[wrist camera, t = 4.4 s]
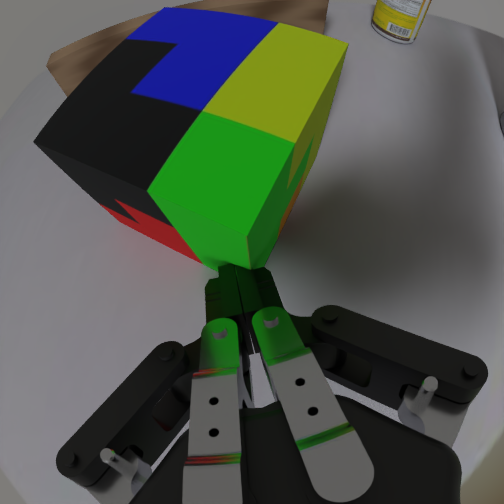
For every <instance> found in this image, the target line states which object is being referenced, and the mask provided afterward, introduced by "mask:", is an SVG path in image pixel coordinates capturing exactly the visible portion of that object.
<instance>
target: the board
mask: <svg viewBox="0 0 504 504" xmlns="http://www.w3.org/2000/svg"><path fill="white" fill-rule="evenodd" d="M328 2H329V0H203V1H198V2H193V3H189V4H184V5H180V6H176V7H172V8H187V9H199V10H209V11H218V12H225V13H232V14H238V15H244V16H250V17H255V18H260V19H265V20H270V21H274V22H279V23H283V24H287V25H291V26H295V27H298V28H302V29H305V30H309V31H312V32H316V33H319V34H322V35H323V31H324V26H325V20H326V14H327V8H328ZM158 12H159V11H157V12H153V13H150V14H147V15H143V16H140V17H137V18H134V19H131V20H128V21H125V22H122V23H119V24H117V25H114V26H111V27H109V28H106V29H104V30H102V31H99V32H96V33H94V34H92V35H89V36H87V37H85V38H82V39H80V40H78V41H76V42H74V43H72V44H70V45H68V46H66V47H64V48H62V49H60V50H58V51H56V52H54V53H52V54H51V56H50V58H49V60H48V63H47V66H46V67H47V68H48V70H49V71H50V73H51V74H52V75H53V77H54V78H55V80H56V81H57V83H58V84H59V86H60V87H61V88H62V90H63V91H64V93H65V94H66V96H67V97H68V96H69V95H70V94H71V93H72V92H73V90H74V89H75V88H76V87H77V86H78V85H79V84H80V83H81V82H82V80H83V79H84V78H85V77H86V76H87V75H88V74H89V73H90V72H91V71H92V70H93V69H94V68H95V67H96V66H97V65H98V64H99V63H100V62H101V61H102V60H103V59H104V58H105V57H106V56H107V55H108V54H109V53H110V52H111V51H112V50H113V49H114V48H116V47H117V46H118V45H119V44H120V43H121V42H122V41H123V40H124V39H126V38H127V37H128V36H129V35H130V34H131V33H133V32H134V31H135V30H136V29H137V28H139V27H140V26H141V25H142V24H143V23H145V22H146V21H147V20H148V19H150V18H151V17H152V16H154V15H155V14H156V13H158Z"/></svg>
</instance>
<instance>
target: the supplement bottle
mask: <svg viewBox="0 0 504 504" xmlns="http://www.w3.org/2000/svg"><path fill="white" fill-rule="evenodd" d="M430 3H431V0H377V3H376V6H375V10H374V13H373V17H372V26H373V28H374V29H375V30H376V31H377V32H378V33H379V34H381V35H382V36H384V37H386V38H387V39H390V40H392V41H395V42H398V43H403V44H409V43H412V42H414V40H415V39H416V36H417V34H418V32H419V29H420V27H421V25H422V22H423V20H424V18H425V15H426V13H427V10H428V8H429V5H430Z"/></svg>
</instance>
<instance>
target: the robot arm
mask: <svg viewBox="0 0 504 504" xmlns="http://www.w3.org/2000/svg"><path fill="white" fill-rule="evenodd" d="M500 121H501V127H502V130H503V133H504V112H503V113H502V114H501V117H500ZM235 267H236V271H235ZM235 267H234V264H232V263H230V264H226V265H222V266H218V273H219V277H218V278H214V279H209V281H208V283H207V284H206V286H205V301H206V325H205V326H204V328H203V330H202V333H201V337H200V338H199V339H197V340H196V341H194V342H192V343H190V344H188V345H186V346H184V347H183V346H182V345H181V344H180V343H179V342H176V341H168V342H164V343H162V344H160V345H158V346H157V347H156V348H155V349H154V350H153V351H152V352H151V353H150V354H149V355H148V356H147V357H146V358H145V359H144V360H143V361H142V362H141V363H140V364H139V366H138V367H137V368H136V369H135V370H134V371H133V372H132V373H131V374H130V375H129V376H128V377H127V378H126V379H125V380H124V381H123V383H122V384H121V385H120V386H119V387H118V388H117V389H116V390H115V391H114V392H113V393H112V394H111V395H110V396H109V397H108V398H107V400H106V401H105V402H104V403H103V404H102V405H101V406H100V407H99V408H98V409H97V410H96V411H95V412H94V413H93V415H92V416H91V417H90V418H89V419H88V420H87V421H86V422H85V423H84V424H83V425H82V426H81V427H80V428H79V429H78V431H77V432H76V433H75V434H74V435H73V436H72V437H71V438H70V439H69V440H68V441H67V442H66V443H65V444H64V446H63V447H62V448H61V449H60V450H59V452H58V454H57V457H56V465H57V468H58V470H59V472H60V473H61V474H62V475H64V476H65V477H67V478H69V479H70V480H72V481H74V482H75V483H76V484H78V485H79V486H81V487H83V488H85V489H87V490H88V491H89V492H90V493H91V494H92V495H93V496H94V497H95V498H96V499H97V500H98V501H99V502H100V503H101V504H460V485H461V476H462V470H461V464H460V461H459V459H458V456H457V455H456V453H455V452H454V451H453V450H452V449H451V448H452V446H453V444H454V442H455V439H456V437H457V435H458V432H459V430H460V428H461V425H462V423H463V420H464V417H465V415H466V412H467V409H468V407H469V405H470V404H471V403H472V401H473V400H474V398H475V397H476V395H477V394H478V393H479V391H480V390H481V388H482V387H483V385H484V384H485V382H486V380H487V377H488V369H487V366H486V364H485V363H484V362H483V361H482V360H481V359H480V358H479V357H477V356H474V355H471V354H468V353H466V352H463V351H460V350H457V349H454V348H451V347H449V346H446V345H443V344H440V343H437V342H434V341H432V340H429V339H426V338H423V337H421V336H418V335H415V334H412V333H410V332H407V331H404V330H401V329H399V328H396V327H393V326H390V325H388V324H385V323H382V322H380V321H377V320H374V319H372V318H369V317H366V316H363V315H361V314H358V313H355V312H353V311H350V310H348V309H345V308H342V307H340V306H336V305H326V306H323V307H320V308H318V309H317V310H315V311H314V313H313V314H312V316H311V317H299V316H294V315H291V314H289V313H288V312H287V311H286V310H285V309H284V307H283V304H282V302H281V299H280V296H279V294H278V291H277V288H276V286H275V283H274V280H273V277H272V274H271V272H270V271H269V270H267V269H266V268H265V267H260V268H256V269H253V268H252V269H251V270H250V269H247V268H244V267H241V266H238V265H235ZM236 272H237V275H236ZM249 331H250V332H249ZM250 335H251V337H250ZM251 339H252V342H253V346H254V350H255V353H259V352H260V356H261V359H262V363H263V367H264V370H265V373H266V376H267V379H268V382H269V385H270V388H271V390H272V393H273V396H274V399H275V402H274V403H272V404H270V405H267V406H265V407H263V408H255V406H254V396H253V385H252V375H251V368H250V359H249V355H251V354H254V351H253V347H252V342H251ZM325 377H326V378H328V379H330V380H332V381H335V382H337V383H339V384H341V385H343V386H345V387H347V388H349V389H351V390H353V391H355V392H357V393H360V394H362V395H364V396H366V397H368V398H370V399H372V400H375V401H377V402H379V403H381V404H384V405H386V406H388V407H390V408H393V409H395V410H397V411H398V417H399V419H400V421H401V422H402V424H401V423H399V422H397V421H395V420H393V419H391V418H389V417H387V416H385V415H383V414H381V413H379V412H377V411H375V410H373V409H371V408H369V407H367V406H365V405H363V404H361V403H359V402H357V401H355V400H353V399H350V398H348V397H345V396H340V395H334V394H333V392H332V390H331V388H330V386H329V384H328V382H327V380H326V378H325ZM164 394H165V395H164ZM159 400H160V401H159ZM158 401H159V402H158ZM189 419H190V422H189V429H188V430H186V431H185V432H184V433H183V434H182V435H181V436H180V437H179V439H178V440H177V441H176V443H175V444H174V445H173V447H172V448H171V449H170V451H169V452H168V453H167V455H166V456H165V457H164V459H163V460H162V461H161V463H160V464H159V465H158V466H157V468H156V469H155V470H154V472H153V473H152V469H151V466H152V465H153V464H154V463H155V461H156V460H157V459H158V458H159V457H160V455H161V454H162V453H163V452H164V450H165V449H166V448H167V447H168V445H169V444H170V443H171V442H172V441H173V439H174V438H175V437H176V436H177V434H178V433H179V432H180V430H181V429H182V428H183V427H184V425H185V424H186V423H187V422H188V420H189ZM403 424H404V425H403Z"/></svg>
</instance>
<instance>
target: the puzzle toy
mask: <svg viewBox="0 0 504 504" xmlns="http://www.w3.org/2000/svg"><path fill="white" fill-rule="evenodd" d="M347 48H348V43H345V42H343V41H340V40H337V39H334V38H331V37H328V36H325V35H322V34H319V33H316V32H312V31H309V30H305V29H302V28H298V27H295V26H291V25H287V24H283V23H279V22H274V21H270V20H265V19H260V18H255V17H250V16H244V15H238V14H232V13H225V12H218V11H209V10H199V9H187V8H169V7H168V8H167V7H166V8H165V7H164V8H163V9H162V10H160V11H159V12H158V13H156V14H155V15H154V16H152V17H151V18H150V19H148V20H147V21H146V22H145V23H143V24H142V25H141V26H140V27H139V28H137V29H136V30H135V31H134V32H133V33H131V34H130V35H129V36H128V37H127V38H126V39H124V40H123V41H122V42H121V43H120V44H119V45H118V46H117V47H116V48H114V49H113V50H112V51H111V52H110V53H109V54H108V55H107V56H106V57H105V58H104V59H103V60H102V61H101V62H100V63H99V64H98V65H97V66H96V67H95V68H94V69H93V70H92V71H91V72H90V73H89V74H88V75H87V76H86V77H85V78H84V79H83V80H82V82H81V83H80V84H79V85H78V86H77V87H76V88H75V89H74V90H73V92H72V93H71V94H70V95H69V96H68V97H67V99H66V100H65V101H64V102H63V103H62V105H61V106H60V107H59V108H58V109H57V111H56V112H55V113H54V114H53V116H52V117H51V118H50V120H49V121H48V122H47V124H46V125H45V126H44V128H43V129H42V130H41V132H40V133H39V134H38V136H37V137H36V139H35V140H34V143H35V144H36V145H37V146H38V147H39V148H40V149H41V150H42V151H43V152H44V153H45V154H46V155H47V156H48V157H49V158H50V159H51V160H52V161H53V162H54V163H55V164H56V165H58V166H59V167H60V168H61V169H62V170H63V171H64V172H65V173H66V174H67V175H68V176H69V177H70V178H71V179H72V180H73V181H75V182H76V183H77V184H78V185H79V186H80V187H81V188H82V189H83V190H84V191H86V192H87V193H88V194H89V195H90V196H91V197H92V198H93V199H94V200H96V201H97V202H98V203H99V204H100V205H101V206H102V207H103V208H105V209H106V210H107V211H108V212H109V213H110V214H111V215H113V216H114V217H115V218H116V219H117V220H118V221H119V222H121V223H123V224H125V225H127V226H129V227H131V228H132V229H134V230H136V231H138V232H140V233H142V234H144V235H146V236H148V237H150V238H152V239H154V240H156V241H158V242H160V243H162V244H164V245H165V246H167V247H169V248H171V249H173V250H175V251H177V252H179V253H181V254H183V255H185V256H187V257H189V258H191V259H193V260H195V261H197V262H199V263H201V264H203V265H205V266H207V267H209V268H212V269H214V270H216V271H218V266H222V265H226V264H230V263H232V264H234V267H235V265H238V266H241V267H244V268H247V269H250V270H251V269H252V268H253V269H256V268H260V267H264V266H265V264H266V261H267V259H268V257H269V255H270V253H271V251H272V249H273V247H274V245H275V243H276V241H277V239H278V237H279V235H280V232H281V230H282V228H283V226H284V224H285V222H286V220H287V218H288V216H289V214H290V212H291V209H292V207H293V205H294V203H295V201H296V199H297V197H298V195H299V193H300V190H301V188H302V186H303V184H304V182H305V180H306V178H307V176H308V173H309V171H310V169H311V167H312V165H313V163H314V161H315V158H316V156H317V153H318V149H319V146H320V143H321V139H322V136H323V133H324V129H325V126H326V123H327V119H328V116H329V112H330V109H331V105H332V102H333V98H334V95H335V91H336V88H337V84H338V81H339V77H340V74H341V70H342V66H343V63H344V59H345V55H346V52H347ZM235 271H236V267H235ZM236 275H237V272H236Z"/></svg>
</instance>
